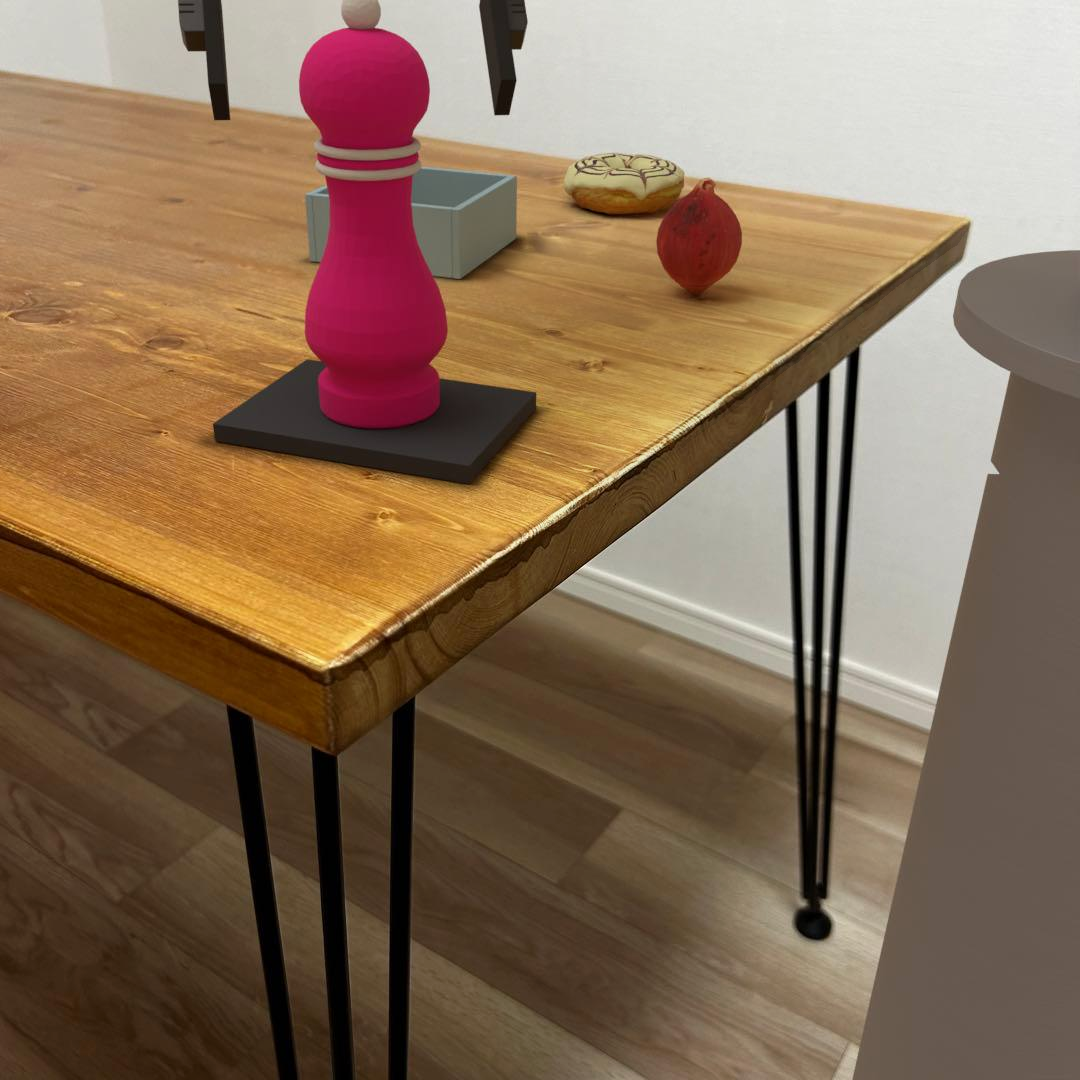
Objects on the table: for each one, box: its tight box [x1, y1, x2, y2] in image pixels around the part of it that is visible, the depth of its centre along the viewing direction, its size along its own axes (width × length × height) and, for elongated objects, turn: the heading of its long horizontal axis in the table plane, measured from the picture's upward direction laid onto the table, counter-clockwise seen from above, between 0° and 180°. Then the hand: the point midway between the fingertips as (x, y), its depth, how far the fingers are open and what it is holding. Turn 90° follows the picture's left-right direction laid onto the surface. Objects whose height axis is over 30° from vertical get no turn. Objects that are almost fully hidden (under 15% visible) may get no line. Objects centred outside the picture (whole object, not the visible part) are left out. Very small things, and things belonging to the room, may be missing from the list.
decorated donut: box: [563, 152, 685, 215], centre depth 107 cm, size 10×11×4 cm
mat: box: [212, 358, 537, 485], centre depth 63 cm, size 14×10×1 cm
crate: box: [304, 166, 518, 280], centre depth 92 cm, size 12×12×5 cm
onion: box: [655, 177, 743, 295], centre depth 82 cm, size 6×6×8 cm
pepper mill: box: [298, 0, 449, 429], centre depth 58 cm, size 7×7×20 cm
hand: (365, 101), depth 57 cm, fingers open, 13 cm apart
